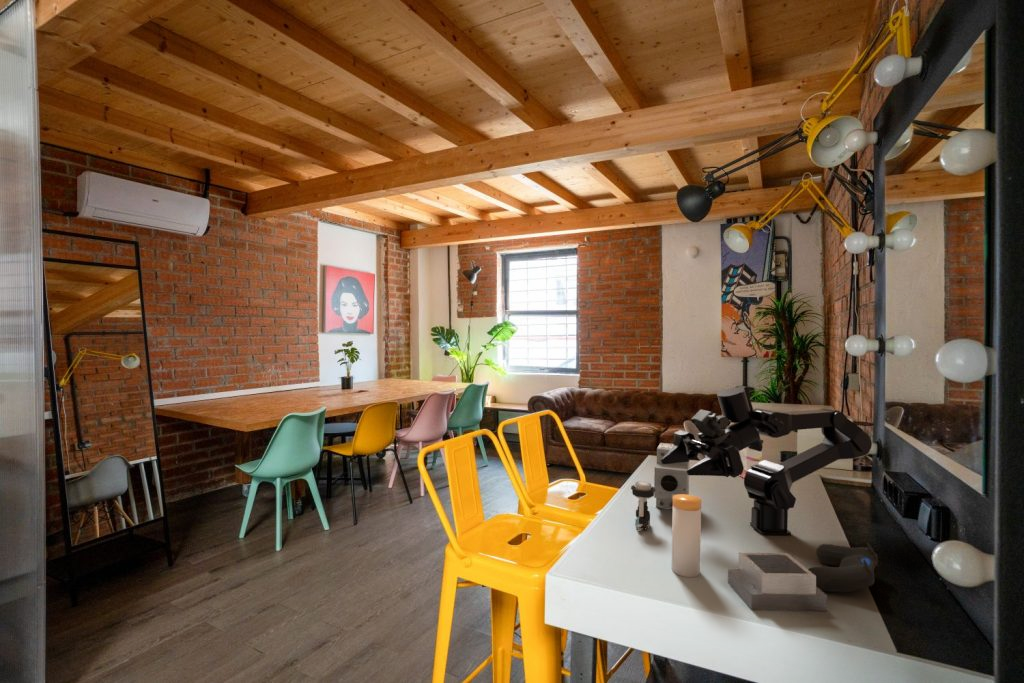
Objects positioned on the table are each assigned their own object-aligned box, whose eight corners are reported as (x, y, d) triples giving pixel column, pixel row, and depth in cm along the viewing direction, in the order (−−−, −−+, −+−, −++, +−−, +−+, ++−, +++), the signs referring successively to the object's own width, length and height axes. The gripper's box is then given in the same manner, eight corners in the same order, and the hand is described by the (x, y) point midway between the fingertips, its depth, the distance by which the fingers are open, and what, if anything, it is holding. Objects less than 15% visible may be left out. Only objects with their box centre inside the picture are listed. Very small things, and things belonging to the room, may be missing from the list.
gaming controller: (817, 608, 88) (879, 594, 82) (798, 574, 89) (858, 558, 84) (830, 573, 101) (885, 559, 95) (813, 544, 103) (866, 529, 97)
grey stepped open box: (796, 583, 91) (796, 552, 91) (826, 611, 82) (827, 576, 82) (728, 582, 91) (728, 551, 91) (751, 609, 82) (751, 575, 82)
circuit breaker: (653, 515, 125) (654, 453, 125) (659, 498, 139) (660, 442, 138) (685, 519, 122) (686, 456, 122) (688, 501, 136) (689, 445, 136)
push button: (650, 535, 112) (651, 489, 112) (626, 530, 115) (627, 486, 115) (656, 525, 118) (657, 482, 118) (633, 521, 121) (634, 479, 121)
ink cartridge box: (762, 480, 157) (763, 432, 157) (746, 480, 157) (747, 432, 157) (747, 472, 166) (748, 427, 166) (732, 473, 165) (733, 427, 165)
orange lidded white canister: (694, 564, 98) (695, 494, 98) (704, 577, 93) (705, 502, 93) (668, 564, 98) (669, 494, 98) (676, 576, 93) (677, 502, 93)
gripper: (695, 399, 121) (639, 424, 117) (754, 411, 103) (691, 440, 99) (708, 443, 122) (653, 469, 118) (768, 462, 104) (706, 493, 100)
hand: (674, 467), depth 109 cm, fingers open, 9 cm apart
